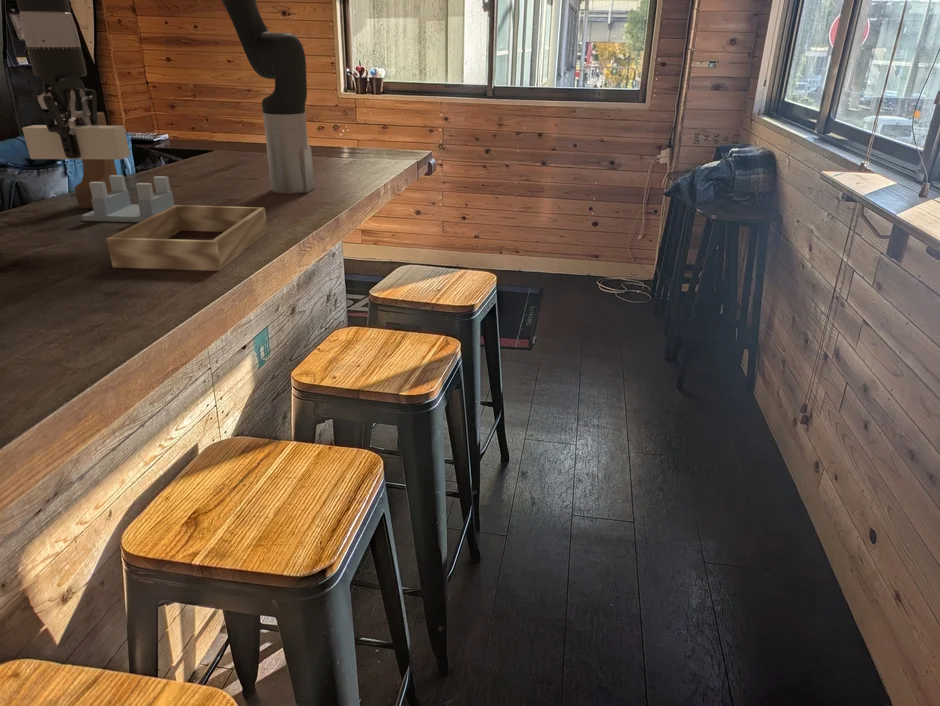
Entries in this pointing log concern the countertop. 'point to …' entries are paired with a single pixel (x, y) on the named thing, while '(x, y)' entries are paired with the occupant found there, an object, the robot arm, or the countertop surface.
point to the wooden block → (94, 173)
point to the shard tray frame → (156, 251)
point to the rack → (128, 200)
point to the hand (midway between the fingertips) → (81, 155)
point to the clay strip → (90, 141)
